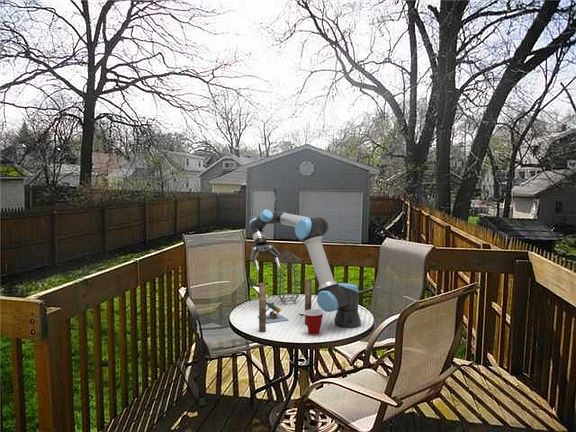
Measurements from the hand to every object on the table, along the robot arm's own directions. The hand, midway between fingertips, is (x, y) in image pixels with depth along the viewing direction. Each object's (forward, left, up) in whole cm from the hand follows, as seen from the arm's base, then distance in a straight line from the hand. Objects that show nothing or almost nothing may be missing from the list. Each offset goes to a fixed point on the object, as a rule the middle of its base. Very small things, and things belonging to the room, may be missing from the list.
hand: (268, 268), depth 271 cm
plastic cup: (-43, +7, -28) cm, 52 cm away
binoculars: (-9, +5, -28) cm, 29 cm away
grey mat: (-9, +5, -28) cm, 30 cm away
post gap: (-26, +11, -28) cm, 40 cm away
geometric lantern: (+11, -28, -28) cm, 41 cm away
